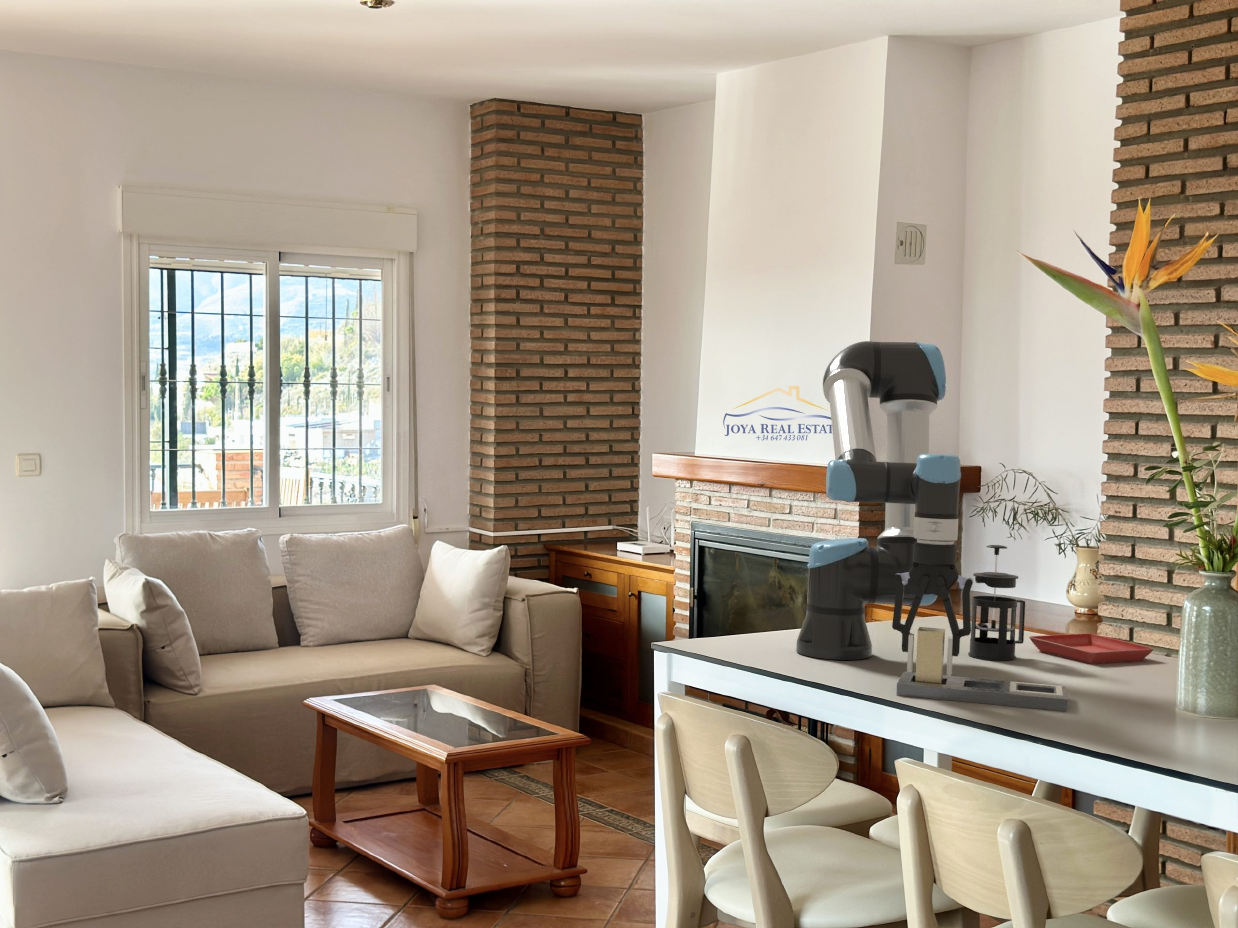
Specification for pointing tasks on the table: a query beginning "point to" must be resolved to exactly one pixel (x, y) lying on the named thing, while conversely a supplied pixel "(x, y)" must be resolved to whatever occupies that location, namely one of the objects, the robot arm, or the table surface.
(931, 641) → the peg
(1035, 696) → the grey flat slotted block
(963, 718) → the table surface
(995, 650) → the french press
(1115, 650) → the red serving tray
